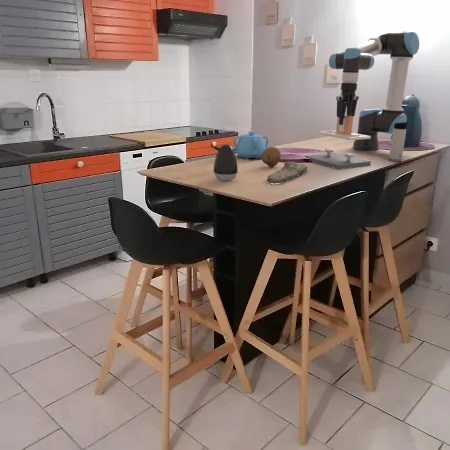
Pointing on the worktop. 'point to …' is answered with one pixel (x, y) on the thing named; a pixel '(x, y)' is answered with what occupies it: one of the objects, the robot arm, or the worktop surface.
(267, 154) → the brown round lump
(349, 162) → the boss board
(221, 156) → the pump dispenser
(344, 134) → the keyhole plate
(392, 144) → the travel mug
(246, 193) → the worktop surface
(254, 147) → the decorative pot
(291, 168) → the long grey stone
